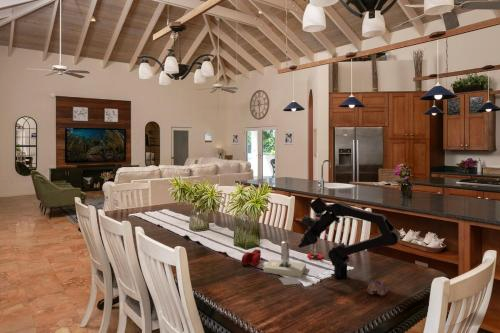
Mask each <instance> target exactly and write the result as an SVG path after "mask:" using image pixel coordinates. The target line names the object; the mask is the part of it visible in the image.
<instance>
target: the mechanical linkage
mask: <svg viewBox="0 0 500 333" xmlns="http://www.w3.org/2000/svg"><path fill="white" fill-rule="evenodd" d="M261 251H262V250H261V249H258V248H257V249H255V248H254V250H252V251H251V252H250V251H247V252H245V253H244V254H243V255H242V257H241V265H242V266H247V265H249V264H251V266H252V267H255V268H257V267H258V266H259V265H260V264H261V255H262V254H261V253H262V252H261Z"/></svg>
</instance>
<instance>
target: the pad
mask: <svg viewBox="0 0 500 333" xmlns="http://www.w3.org/2000/svg"><path fill="white" fill-rule="evenodd" d="M278 279H279V281H280V282H281V283H282V284H283V285H284V286H286V285H287V286H288V285H299V284H302V282H301V281H300V280H299V278H297V276H287V277H285V276H284V277H278ZM298 280H299V281H298Z"/></svg>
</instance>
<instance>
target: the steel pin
mask: <svg viewBox="0 0 500 333" xmlns="http://www.w3.org/2000/svg"><path fill="white" fill-rule="evenodd" d="M280 242H281V243H280V244H281V246H280V248H281V253H280V254H281V255H280V256H281V257H280V258H281V260H280V261H281V267H287V268H289V262H290V241H288V240H282V241H280Z"/></svg>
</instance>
